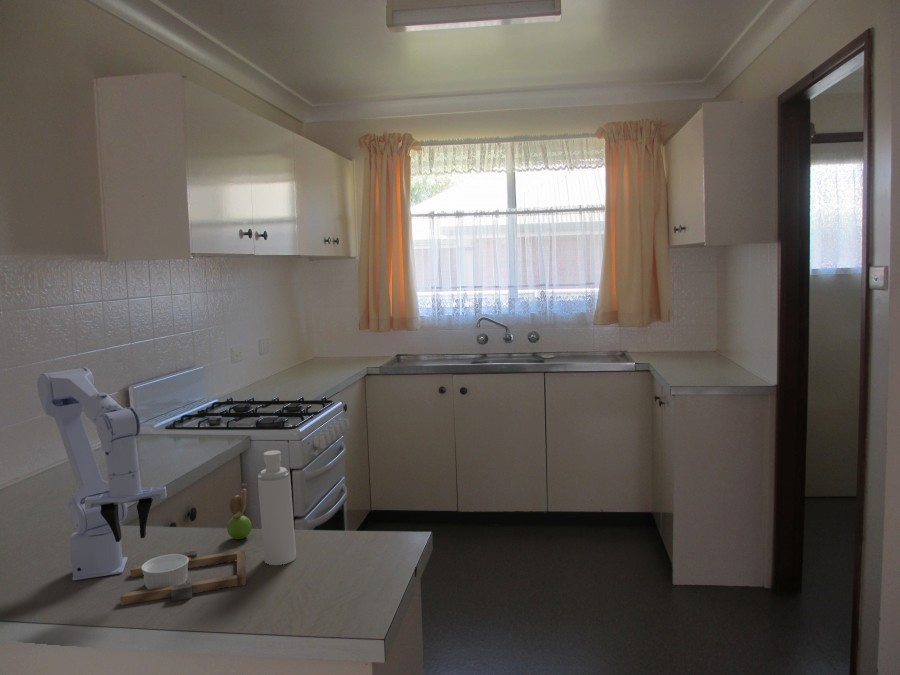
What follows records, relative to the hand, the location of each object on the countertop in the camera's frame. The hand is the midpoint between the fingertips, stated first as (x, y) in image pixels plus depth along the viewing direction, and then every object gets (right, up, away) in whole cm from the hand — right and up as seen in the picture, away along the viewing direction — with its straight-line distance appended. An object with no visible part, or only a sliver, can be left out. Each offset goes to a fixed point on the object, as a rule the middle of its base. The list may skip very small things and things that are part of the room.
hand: (131, 538), depth 142 cm
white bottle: (+27, -8, +12) cm, 30 cm away
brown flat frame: (+9, -10, +4) cm, 14 cm away
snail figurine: (+14, -7, +25) cm, 30 cm away
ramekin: (+6, -10, +3) cm, 12 cm away
